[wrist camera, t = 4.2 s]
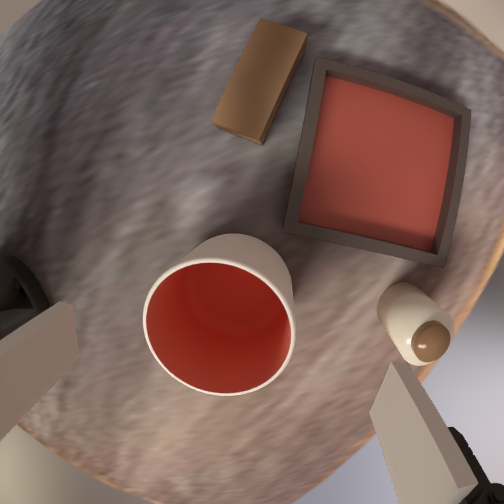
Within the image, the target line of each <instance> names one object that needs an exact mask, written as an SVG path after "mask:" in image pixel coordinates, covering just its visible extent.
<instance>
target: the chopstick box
mask: <svg viewBox="0 0 504 504" xmlns="http://www.w3.org/2000/svg"><path fill="white" fill-rule="evenodd" d="M307 34H308V33H305V32H302V31H299V30H297V29H294V28H291V27H288V26H285V25H282V24H278V23H275V22H272V21H269V20H265V19H262V18H261V19H260V21H259V22H258V24H257V26H256V28H255V30H254V32H253V34H252V36H251V38H250V40H249V42H248V43H247V45H246V47H245V49H244V51H243V53H242V55H241V57H240V59H239V61H238V63H237V65H236V68H235V70H234V72H233V74H232V76H231V78H230V80H229V82H228V84H227V86H226V89H225V91H224V93H223V95H222V97H221V99H220V102H219V104H218V106H217V108H216V111H215V113H214V115H213V117H212V120H211V122H212V123H213V124H214V125H215V126H216V127H218V128H219V129H220V130H223V131H226V132H228V133H231V134H234V135H236V136H239V137H242V138H244V139H247V140H249V141H252V142H254V143H257V144H260V145H263V143H264V141H265V138H266V136H267V134H268V131H269V129H270V127H271V125H272V122H273V120H274V118H275V115H276V113H277V111H278V109H279V106H280V104H281V102H282V100H283V97H284V95H285V93H286V91H287V89H288V86H289V84H290V82H291V80H292V77H293V75H294V73H295V71H296V69H297V67H298V64H299V62H300V60H301V58H302V56H303V54H304V51H305V46H306V40H307Z"/></svg>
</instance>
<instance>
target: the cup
mask: <svg viewBox="0 0 504 504" xmlns="http://www.w3.org/2000/svg"><path fill="white" fill-rule="evenodd" d="M143 327H144V333H145V337H146V340H147V343H148V346H149V348H150V350H151V352H152V354H153V355H154V357H155V358H156V360H157V361H158V362H159V364H160V365H161V366H162V367H163V368H164V369H165V370H166V371H167V372H168V373H169V374H170V375H171V376H172V377H174V378H175V379H176V380H178V381H179V382H181V383H183V384H184V385H186V386H188V387H190V388H193V389H195V390H198V391H201V392H204V393H208V394H213V395H222V396H232V395H240V394H245V393H249V392H252V391H255V390H257V389H260V388H262V387H264V386H265V385H267V384H269V383H270V382H271V381H273V380H274V379H275V378H276V377H277V376H278V375H279V374H280V373H281V372H282V371H283V370H284V368H285V367H286V365H287V364H288V362H289V360H290V358H291V356H292V353H293V350H294V346H295V341H296V324H295V313H294V302H293V291H292V282H291V277H290V273H289V271H288V268H287V266H286V264H285V262H284V261H283V259H282V258H281V257H280V255H279V254H278V253H277V252H276V251H275V250H274V249H273V248H272V247H271V246H269V245H268V244H266V243H265V242H263V241H261V240H259V239H257V238H255V237H252V236H249V235H244V234H223V235H219V236H215V237H213V238H210V239H208V240H206V241H204V242H203V243H201V244H200V245H199V246H197V247H196V248H195V249H194V250H192V251H191V252H190V253H189V254H187V255H186V256H185V257H183V258H182V259H181V260H180V261H178V262H177V263H176V264H175V265H173V266H172V267H171V268H170V269H168V270H167V271H166V272H165V273H163V274H162V275H161V276H160V277H159V278H158V279H157V281H156V282H155V283H154V285H153V286H152V288H151V289H150V291H149V293H148V296H147V298H146V301H145V305H144V310H143Z"/></svg>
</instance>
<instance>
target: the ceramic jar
mask: <svg viewBox="0 0 504 504" xmlns="http://www.w3.org/2000/svg"><path fill="white" fill-rule="evenodd" d="M377 315H378V318H379V320H380V322H381V323H382V325H383V326H384V328H385V329H386V331H387V332H388V334H389V336H390V337H391V339H392V340H393V342H394V343H395V345H396V346H397V348H398V350H399V351H400V353H401V354H402V356H403V358H404V359H405V360H406V361H407V362H408V363H410V364H413V365H426V364H429V363H431V362H434V361H435V360H437V359H438V358H440V357H441V356H442V355H443V354H444V353H445V352H446V350H447V349H448V347H449V346H450V344H451V342H452V339H453V336H454V323H453V320H452V318H451V316H450V315H449V314H448V313H447V312H445V311H444V310H443V309H442V308H441V307H440V306H439V305H438V304H436V303H435V302H434V301H433V300H432V299H431V298H429V297H428V296H427V295H426V294H425V293H424V292H422V291H421V290H420V289H419V288H418V287H417V286H415V285H414V284H412V283H409V282H400V283H396V284H394V285H392V286H390V287H389V288H388V289H387V290H386V291H385V292H384V293H383V294H382V296H381V297H380V299H379V302H378V306H377Z"/></svg>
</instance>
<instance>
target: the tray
mask: <svg viewBox="0 0 504 504" xmlns="http://www.w3.org/2000/svg"><path fill="white" fill-rule="evenodd" d="M470 120H471V110H470V109H468V108H466V107H464V106H462V105H460V104H458V103H455V102H453V101H451V100H449V99H446V98H444V97H442V96H440V95H437V94H435V93H432V92H430V91H427V90H425V89H422V88H420V87H417V86H415V85H412V84H409V83H406V82H404V81H401V80H398V79H395V78H392V77H389V76H386V75H383V74H380V73H377V72H373V71H370V70H367V69H363V68H360V67H356V66H352V65H349V64H345V63H341V62H337V61H333V60H328V59H324V58H320V57H316V59H315V62H314V66H313V72H312V77H311V83H310V89H309V94H308V100H307V105H306V111H305V116H304V122H303V127H302V133H301V138H300V143H299V148H298V154H297V159H296V164H295V169H294V174H293V179H292V184H291V189H290V194H289V199H288V204H287V209H286V214H285V219H284V224H283V232H284V233H289V234H294V235H299V236H303V237H308V238H313V239H318V240H322V241H327V242H332V243H336V244H341V245H345V246H350V247H354V248H359V249H363V250H368V251H372V252H377V253H381V254H386V255H390V256H394V257H399V258H403V259H407V260H412V261H416V262H420V263H424V264H429V265H433V266H437V267H441V268H444V264H445V261H446V257H447V254H448V250H449V246H450V242H451V238H452V234H453V230H454V226H455V221H456V217H457V212H458V207H459V202H460V197H461V191H462V186H463V180H464V173H465V166H466V159H467V151H468V142H469V132H470Z"/></svg>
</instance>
